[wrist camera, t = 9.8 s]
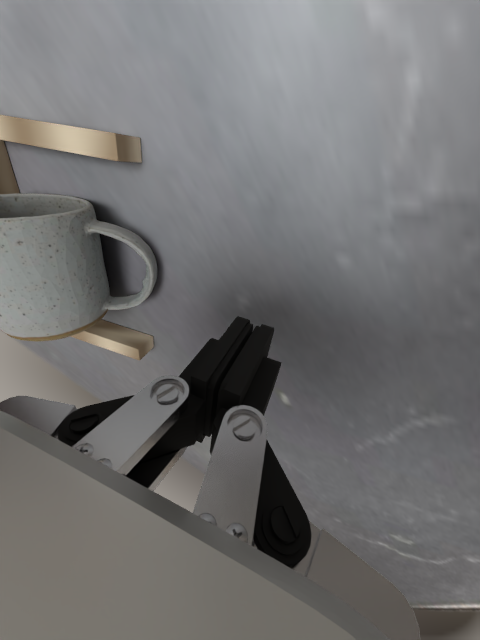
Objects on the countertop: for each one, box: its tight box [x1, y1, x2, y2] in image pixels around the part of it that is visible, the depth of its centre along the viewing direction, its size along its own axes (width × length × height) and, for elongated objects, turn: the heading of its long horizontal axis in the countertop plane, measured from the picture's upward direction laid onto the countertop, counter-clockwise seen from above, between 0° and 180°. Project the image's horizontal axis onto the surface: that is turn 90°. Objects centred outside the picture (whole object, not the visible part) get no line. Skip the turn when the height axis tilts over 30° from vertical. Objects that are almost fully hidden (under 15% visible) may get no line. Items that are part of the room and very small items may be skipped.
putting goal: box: [0, 115, 154, 360], centre depth 15 cm, size 13×15×10 cm
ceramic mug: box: [0, 193, 157, 341], centre depth 16 cm, size 11×8×8 cm
